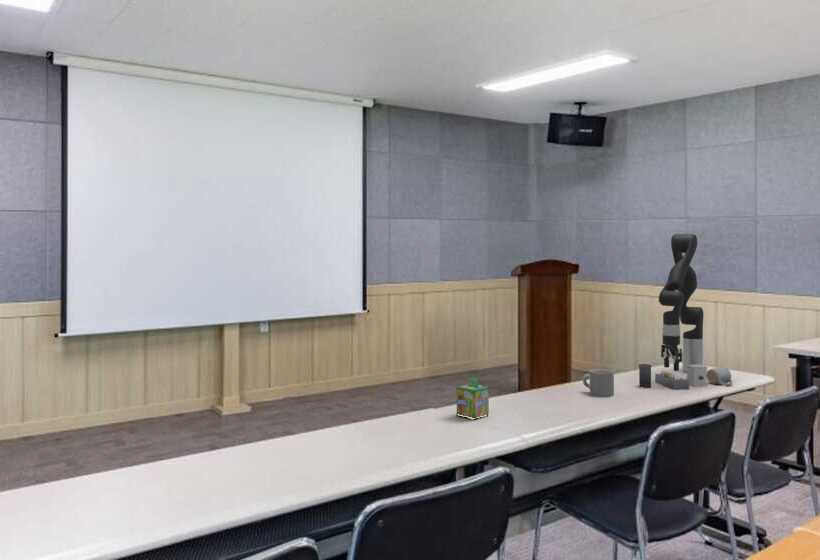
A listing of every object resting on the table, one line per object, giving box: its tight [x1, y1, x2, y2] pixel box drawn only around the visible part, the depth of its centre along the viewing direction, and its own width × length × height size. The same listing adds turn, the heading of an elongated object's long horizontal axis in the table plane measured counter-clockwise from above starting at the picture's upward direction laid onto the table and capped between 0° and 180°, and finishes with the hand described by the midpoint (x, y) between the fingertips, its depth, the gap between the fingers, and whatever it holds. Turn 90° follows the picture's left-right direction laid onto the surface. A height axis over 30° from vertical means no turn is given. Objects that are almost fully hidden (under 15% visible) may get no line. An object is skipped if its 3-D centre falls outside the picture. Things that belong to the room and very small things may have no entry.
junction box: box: [686, 364, 708, 387], centre depth 290 cm, size 7×6×9 cm
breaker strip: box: [654, 370, 690, 391], centre depth 289 cm, size 17×7×6 cm, turn 6°
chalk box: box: [456, 376, 490, 418], centre depth 241 cm, size 9×9×15 cm
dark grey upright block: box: [638, 363, 652, 389], centre depth 287 cm, size 5×5×10 cm
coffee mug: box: [582, 368, 615, 398], centre depth 276 cm, size 13×10×10 cm
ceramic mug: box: [707, 366, 733, 387], centre depth 290 cm, size 11×8×8 cm
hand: (671, 369), depth 289 cm, fingers open, 8 cm apart
